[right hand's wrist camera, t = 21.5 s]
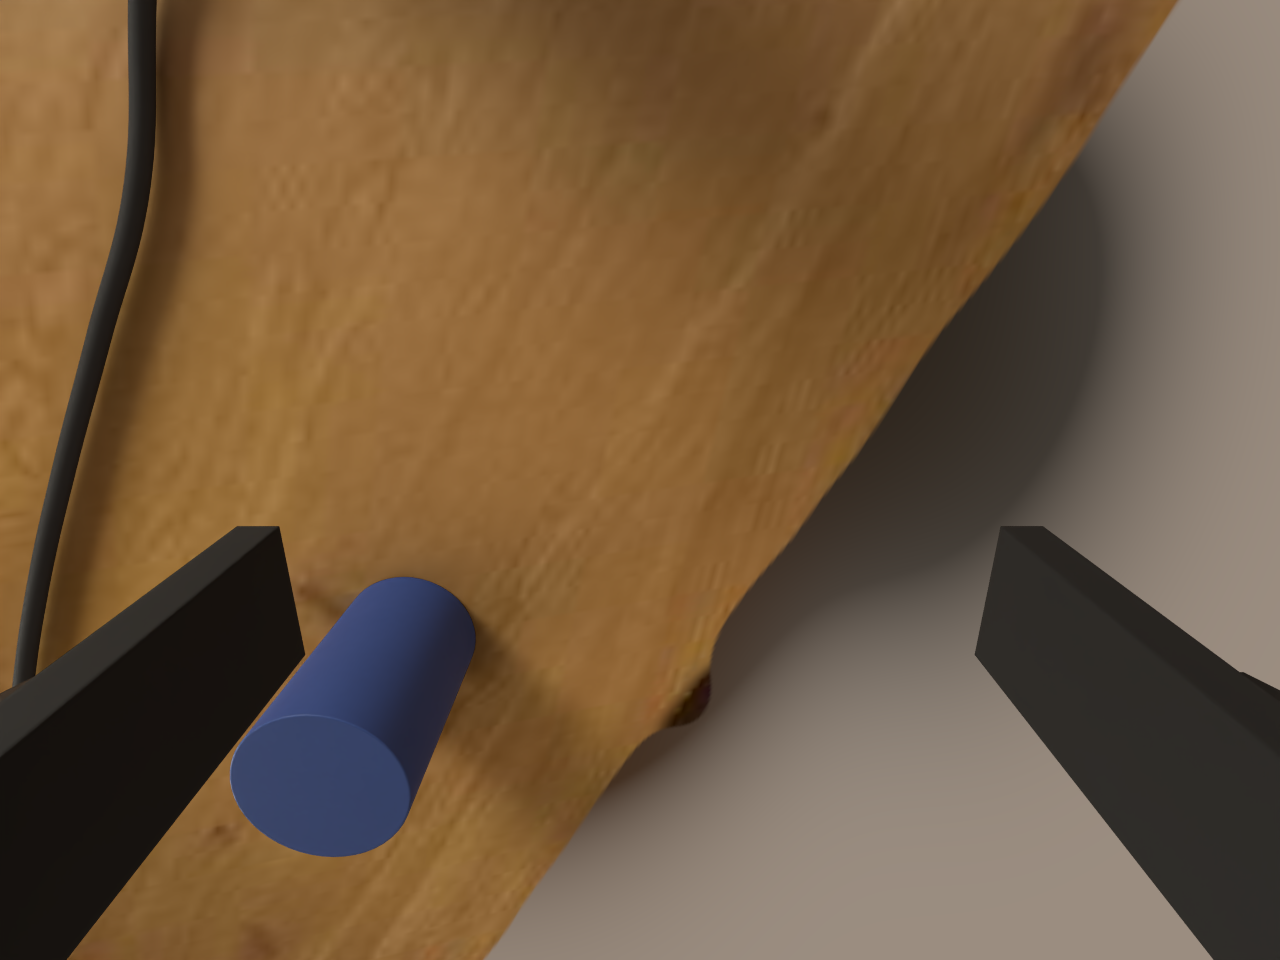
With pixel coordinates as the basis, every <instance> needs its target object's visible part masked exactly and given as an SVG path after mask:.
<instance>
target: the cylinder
mask: <svg viewBox="0 0 1280 960" xmlns="http://www.w3.org/2000/svg"><path fill="white" fill-rule="evenodd" d="M474 649H475V630H474V626H473V623H472V620H471V618H470V616H469V613H468V612H467V610H466V609H465V607H464V606H463V605H462V603H461V602H460V601H459V600H458V599H457V598H456V597H455V596H454V595H453V594H451V593H450V592H448V591H447V590H446V589H444V588H442V587H440V586H439V585H437V584H434V583H432V582H429V581H426V580H423V579H418V578H411V577H397V578H390V579H386V580H382V581H379V582H377V583H375V584H373V585H371V586H369V587H368V588H366V589H365V590H364V591H362V592H361V593H360V594H359V595H358V596H357V598H356V599H355V600H354V601H353V602H352V604H351V605H350V606H349V607H348V609H347V610H346V611H345V612H344V614H343V615H342V616H341V617H340V619H339V620H338V621H337V622H336V624H335V625H334V626H333V627H332V629H331V630H330V631H329V632H328V634H327V635H326V636H325V637H324V639H323V640H322V641H321V642H320V644H319V645H318V646H317V647H316V649H315V650H314V651H313V652H312V654H311V655H310V656H309V657H308V659H307V660H306V661H305V662H304V664H303V665H302V666H301V667H300V669H299V670H298V671H297V672H296V674H295V675H294V676H293V677H292V679H291V680H290V681H289V682H288V684H287V685H286V686H285V687H284V689H283V690H282V691H281V692H280V694H279V695H278V696H277V697H276V699H275V700H274V701H273V702H272V704H271V705H270V706H269V707H268V709H267V710H266V711H265V712H264V714H263V715H262V716H261V717H260V719H259V720H258V721H257V722H256V724H255V725H254V726H253V727H252V729H251V730H250V731H249V732H248V734H247V735H246V736H245V737H244V739H243V740H242V741H241V742H240V744H239V746H238V747H237V749H236V751H235V753H234V756H233V758H232V762H231V768H230V783H231V789H232V792H233V795H234V798H235V800H236V802H237V804H238V806H239V808H240V809H241V811H242V812H243V814H244V815H245V816H246V817H247V819H248V820H249V821H250V822H251V823H252V824H253V825H254V826H255V827H256V828H257V829H258V830H259V831H261V832H262V833H263V834H265V835H266V836H268V837H269V838H271V839H272V840H274V841H276V842H277V843H279V844H282V845H284V846H286V847H288V848H291V849H293V850H296V851H299V852H303V853H307V854H311V855H317V856H326V857H342V856H350V855H356V854H360V853H364V852H367V851H369V850H372V849H374V848H376V847H378V846H380V845H382V844H384V843H385V842H386V841H388V840H389V839H390V838H392V837H393V836H394V835H395V834H396V833H397V832H398V831H399V829H400V828H401V826H402V825H403V824H404V822H405V820H406V818H407V816H408V813H409V811H410V809H411V806H412V804H413V801H414V799H415V796H416V794H417V791H418V789H419V786H420V784H421V781H422V779H423V777H424V774H425V772H426V769H427V767H428V764H429V762H430V759H431V757H432V754H433V752H434V749H435V747H436V745H437V742H438V740H439V737H440V735H441V732H442V730H443V727H444V725H445V722H446V720H447V718H448V715H449V713H450V710H451V708H452V705H453V703H454V700H455V698H456V695H457V693H458V690H459V688H460V686H461V683H462V681H463V678H464V676H465V673H466V671H467V668H468V666H469V663H470V661H471V658H472V656H473V653H474Z"/></svg>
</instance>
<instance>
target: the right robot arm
mask: <svg viewBox="0 0 1280 960" xmlns="http://www.w3.org/2000/svg"><path fill="white" fill-rule="evenodd" d="M156 5H157V0H128V69H129V126H128V147H127V159H126V170H125V178H124V186H123V193H122V199H121V205H120V211H119V216H118V221H117V225H116V230H115V234H114V238H113V242H112V246H111V250H110V253H109V257H108V261H107V264H106V267H105V271H104V274H103V277H102V281H101V284H100V287H99V291H98V294H97V298H96V301H95V304H94V308H93V311H92V315H91V319H90V322H89V326H88V330H87V334H86V338H85V342H84V346H83V350H82V353H81V357H80V361H79V365H78V369H77V373H76V376H75V380H74V384H73V388H72V392H71V395H70V399H69V403H68V407H67V410H66V414H65V418H64V422H63V426H62V430H61V434H60V438H59V442H58V446H57V450H56V454H55V458H54V462H53V466H52V470H51V475H50V479H49V483H48V487H47V492H46V496H45V500H44V504H43V509H42V513H41V517H40V522H39V526H38V531H37V535H36V540H35V545H34V550H33V554H32V560H31V565H30V570H29V575H28V581H27V587H26V592H25V598H24V604H23V610H22V616H21V622H20V629H19V635H18V643H17V650H16V658H15V667H14V676H13V686H12V688H10V689H8V690H6V691H4V692H2V693H0V960H67V958H68V957H69V956H70V954H71V953H72V952H73V951H74V949H75V948H76V947H77V946H78V944H79V943H80V942H81V940H82V939H83V938H84V937H85V935H86V934H87V933H88V932H89V930H90V929H91V928H92V926H93V925H94V924H95V923H96V921H97V920H98V919H99V917H100V916H101V915H102V914H103V912H104V911H105V910H106V909H107V907H108V906H109V905H110V903H111V902H112V901H113V900H114V898H115V897H116V896H117V894H118V893H119V892H120V891H121V889H122V888H123V887H124V886H125V884H126V883H127V882H128V880H129V879H130V878H131V877H132V875H133V874H134V873H135V871H136V870H137V869H138V868H139V866H140V865H141V864H142V863H143V861H144V860H145V859H146V857H147V856H148V855H149V854H150V852H151V851H152V850H153V849H154V847H155V846H156V845H157V843H158V842H159V841H160V840H161V838H162V837H163V836H164V834H165V833H166V832H167V831H168V829H169V828H170V827H171V826H172V824H173V823H174V822H175V820H176V819H177V818H178V817H179V815H180V814H181V813H182V811H183V810H184V809H185V808H186V806H187V805H188V804H189V803H190V801H191V800H192V799H193V797H194V796H195V795H196V794H197V792H198V791H199V790H200V789H201V787H202V786H203V785H204V783H205V782H206V781H207V780H208V778H209V777H210V776H211V774H212V773H213V772H214V771H215V769H216V768H217V767H218V766H219V764H220V763H221V762H222V760H223V759H224V758H225V757H226V755H227V754H228V753H229V751H230V750H231V749H232V748H233V746H234V745H235V744H236V743H237V741H238V740H239V739H240V737H241V736H242V735H243V734H244V732H245V731H246V730H247V729H248V727H249V726H250V725H251V723H252V722H253V721H254V720H255V718H256V717H257V716H258V714H259V713H260V712H261V711H262V709H263V708H264V707H265V706H266V704H267V703H268V702H269V700H270V699H271V698H272V697H273V695H274V694H275V693H276V691H277V690H278V689H279V688H280V686H281V685H282V684H283V683H284V681H285V680H286V679H287V677H288V676H289V675H290V674H291V672H292V671H293V670H294V669H295V667H296V666H297V665H298V663H299V662H300V661H301V660H302V658H303V657H304V656H305V651H304V646H303V641H302V636H301V631H300V626H299V621H298V617H297V612H296V607H295V602H294V597H293V592H292V587H291V582H290V577H289V572H288V567H287V562H286V557H285V552H284V548H283V543H282V538H281V533H280V528H279V526H237V527H235V528H234V529H233V530H231V531H230V532H229V533H227V534H226V535H225V536H223V537H222V538H221V539H219V540H218V541H217V542H215V543H214V544H213V545H211V546H210V547H209V548H207V549H206V550H204V551H203V552H202V553H200V554H199V555H198V556H196V557H195V558H194V559H192V560H191V561H190V562H188V563H187V564H186V565H184V566H183V567H182V568H180V569H179V570H178V571H176V572H175V573H173V574H172V575H171V576H169V577H168V578H167V579H165V580H164V581H163V582H161V583H160V584H159V585H157V586H156V587H155V588H153V589H152V590H151V591H149V592H148V593H147V594H145V595H144V596H142V597H141V598H140V599H138V600H137V601H136V602H134V603H133V604H132V605H130V606H129V607H128V608H126V609H125V610H124V611H122V612H121V613H120V614H118V615H117V616H116V617H114V618H113V619H111V620H110V621H109V622H107V623H106V624H105V625H103V626H102V627H101V628H99V629H98V630H97V631H95V632H94V633H93V634H91V635H90V636H89V637H87V638H86V639H85V640H83V641H82V642H80V643H79V644H78V645H76V646H75V647H74V648H72V649H71V650H70V651H68V652H67V653H66V654H64V655H63V656H62V657H60V658H59V659H58V660H56V661H55V662H54V663H52V664H51V665H49V666H48V667H47V668H45V669H44V670H43V671H41V672H40V673H39V674H37V675H36V676H35V673H36V665H37V658H38V650H39V644H40V637H41V631H42V625H43V619H44V613H45V608H46V602H47V597H48V591H49V586H50V581H51V576H52V571H53V566H54V561H55V556H56V552H57V547H58V543H59V538H60V534H61V530H62V526H63V521H64V517H65V513H66V509H67V505H68V501H69V497H70V493H71V489H72V485H73V481H74V477H75V473H76V469H77V465H78V461H79V457H80V453H81V449H82V446H83V442H84V438H85V434H86V431H87V427H88V423H89V420H90V416H91V412H92V409H93V405H94V402H95V398H96V394H97V391H98V387H99V384H100V380H101V376H102V373H103V369H104V365H105V362H106V358H107V354H108V351H109V347H110V343H111V339H112V336H113V332H114V328H115V325H116V321H117V318H118V315H119V311H120V308H121V305H122V302H123V298H124V295H125V292H126V289H127V286H128V282H129V279H130V276H131V273H132V269H133V266H134V263H135V259H136V255H137V252H138V248H139V244H140V240H141V236H142V232H143V227H144V222H145V217H146V212H147V207H148V200H149V194H150V187H151V179H152V171H153V160H154V147H155V126H156ZM975 656H976V657H977V658H978V660H979V661H980V662H981V663H982V665H983V666H984V667H985V668H986V670H987V671H988V672H989V674H990V675H991V676H992V677H993V679H994V680H995V681H996V683H997V684H998V685H999V686H1000V688H1001V689H1002V690H1003V691H1004V693H1005V694H1006V695H1007V697H1008V698H1009V699H1010V700H1011V702H1012V703H1013V704H1014V706H1015V707H1016V708H1017V709H1018V711H1019V712H1020V713H1021V714H1022V716H1023V717H1024V718H1025V720H1026V721H1027V722H1028V723H1029V725H1030V726H1031V727H1032V729H1033V730H1034V731H1035V732H1036V734H1037V735H1038V736H1039V737H1040V739H1041V740H1042V741H1043V742H1044V744H1045V745H1046V746H1047V748H1048V749H1049V750H1050V751H1051V753H1052V754H1053V755H1054V757H1055V758H1056V759H1057V760H1058V762H1059V763H1060V764H1061V765H1062V767H1063V768H1064V769H1065V771H1066V772H1067V773H1068V774H1069V776H1070V777H1071V778H1072V780H1073V781H1074V782H1075V783H1076V785H1077V786H1078V787H1079V788H1080V790H1081V791H1082V792H1083V794H1084V795H1085V796H1086V797H1087V799H1088V800H1089V801H1090V803H1091V804H1092V805H1093V806H1094V808H1095V809H1096V810H1097V811H1098V813H1099V814H1100V815H1101V817H1102V818H1103V819H1104V820H1105V822H1106V823H1107V824H1108V825H1109V827H1110V828H1111V829H1112V831H1113V832H1114V833H1115V834H1116V836H1117V837H1118V838H1119V840H1120V841H1121V842H1122V843H1123V845H1124V846H1125V847H1126V849H1127V850H1128V851H1129V852H1130V854H1131V855H1132V856H1133V857H1134V859H1135V860H1136V861H1137V863H1138V864H1139V865H1140V866H1141V868H1142V869H1143V870H1144V871H1145V873H1146V874H1147V875H1148V877H1149V878H1150V879H1151V880H1152V882H1153V883H1154V884H1155V886H1156V887H1157V888H1158V889H1159V891H1160V892H1161V893H1162V894H1163V896H1164V897H1165V898H1166V900H1167V901H1168V902H1169V903H1170V905H1171V906H1172V907H1173V908H1174V910H1175V911H1176V912H1177V914H1178V915H1179V916H1180V917H1181V919H1182V920H1183V921H1184V923H1185V924H1186V925H1187V926H1188V928H1189V929H1190V930H1191V931H1192V933H1193V934H1194V935H1195V937H1196V938H1197V939H1198V940H1199V942H1200V943H1201V944H1202V946H1203V947H1204V948H1205V949H1206V951H1207V952H1208V953H1209V954H1210V956H1211V957H1212V958H1213V960H1280V690H1278V689H1276V688H1274V687H1272V686H1270V685H1268V684H1266V683H1264V682H1262V681H1260V680H1258V679H1256V678H1254V677H1252V676H1250V675H1248V674H1246V673H1244V672H1239V671H1237V670H1236V669H1235V668H1233V667H1232V666H1230V665H1229V664H1228V663H1226V662H1225V661H1224V660H1222V659H1221V658H1220V657H1218V656H1217V655H1216V654H1214V653H1213V652H1212V651H1210V650H1209V649H1208V648H1206V647H1205V646H1204V645H1202V644H1201V643H1200V642H1198V641H1197V640H1195V639H1194V638H1193V637H1191V636H1190V635H1189V634H1187V633H1186V632H1185V631H1183V630H1182V629H1181V628H1179V627H1178V626H1177V625H1175V624H1174V623H1173V622H1171V621H1170V620H1169V619H1167V618H1166V617H1164V616H1163V615H1162V614H1160V613H1159V612H1158V611H1156V610H1155V609H1154V608H1152V607H1151V606H1150V605H1148V604H1147V603H1146V602H1144V601H1143V600H1142V599H1140V598H1139V597H1138V596H1136V595H1135V594H1133V593H1132V592H1131V591H1129V590H1128V589H1127V588H1125V587H1124V586H1123V585H1121V584H1120V583H1119V582H1117V581H1116V580H1115V579H1113V578H1112V577H1111V576H1109V575H1108V574H1107V573H1105V572H1104V571H1102V570H1101V569H1100V568H1098V567H1097V566H1096V565H1094V564H1093V563H1092V562H1090V561H1089V560H1088V559H1086V558H1085V557H1084V556H1082V555H1081V554H1080V553H1078V552H1077V551H1076V550H1074V549H1073V548H1071V547H1070V546H1069V545H1067V544H1066V543H1065V542H1063V541H1062V540H1061V539H1059V538H1058V537H1057V536H1055V535H1054V534H1053V533H1051V532H1050V531H1049V530H1047V529H1046V528H1045V527H1043V526H1001V528H1000V533H999V538H998V543H997V548H996V552H995V558H994V562H993V567H992V572H991V577H990V582H989V587H988V592H987V597H986V602H985V607H984V612H983V617H982V622H981V627H980V631H979V637H978V641H977V646H976V651H975Z"/></svg>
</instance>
